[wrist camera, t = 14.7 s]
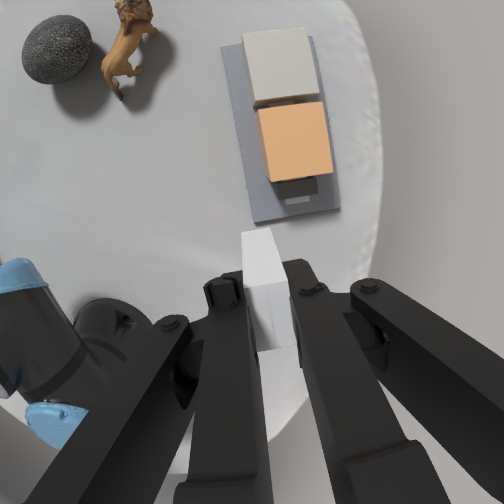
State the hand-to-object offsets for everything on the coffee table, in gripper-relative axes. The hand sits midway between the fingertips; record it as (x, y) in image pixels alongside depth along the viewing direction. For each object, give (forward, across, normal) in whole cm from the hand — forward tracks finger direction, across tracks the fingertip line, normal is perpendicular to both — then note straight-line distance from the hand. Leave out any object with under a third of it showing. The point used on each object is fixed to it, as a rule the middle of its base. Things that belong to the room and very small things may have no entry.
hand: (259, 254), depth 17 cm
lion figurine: (+27, -12, +22) cm, 37 cm away
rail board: (+26, +6, +7) cm, 28 cm away
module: (+25, +6, +5) cm, 27 cm away
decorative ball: (+27, -21, +25) cm, 42 cm away
